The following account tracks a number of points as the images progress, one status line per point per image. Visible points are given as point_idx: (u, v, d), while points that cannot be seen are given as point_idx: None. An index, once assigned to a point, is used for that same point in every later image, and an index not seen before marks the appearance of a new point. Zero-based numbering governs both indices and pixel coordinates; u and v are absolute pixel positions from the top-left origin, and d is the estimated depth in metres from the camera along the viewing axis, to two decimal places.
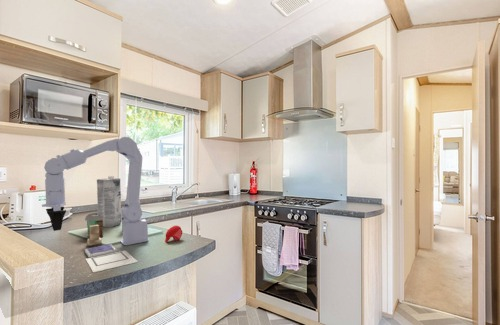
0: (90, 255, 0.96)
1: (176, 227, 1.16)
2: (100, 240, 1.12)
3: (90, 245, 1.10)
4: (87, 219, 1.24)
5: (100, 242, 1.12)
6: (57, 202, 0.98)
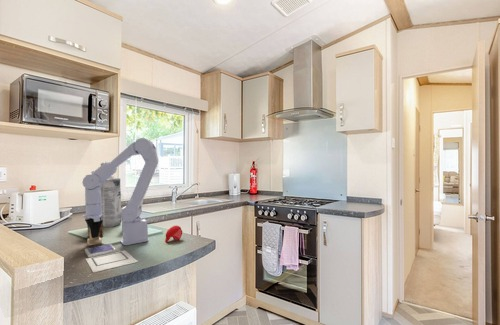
0: (90, 255, 0.96)
1: (176, 227, 1.16)
2: (100, 240, 1.12)
3: (90, 245, 1.10)
4: None
5: (100, 242, 1.12)
6: (96, 213, 1.11)
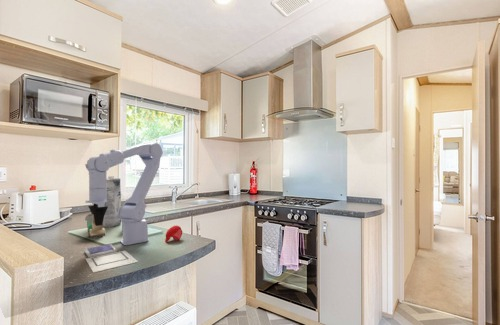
0: (90, 255, 0.96)
1: (176, 227, 1.16)
2: (103, 230, 1.01)
3: (92, 235, 0.99)
4: (87, 219, 1.24)
5: (103, 232, 1.01)
6: (100, 199, 1.01)
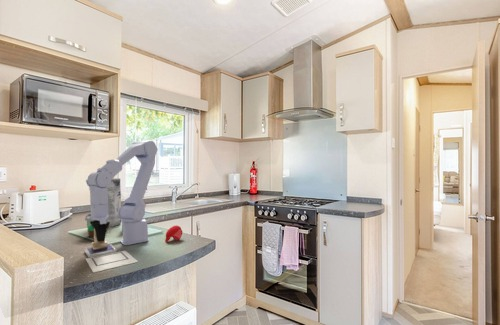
0: (90, 255, 0.96)
1: (176, 227, 1.16)
2: (106, 244, 1.02)
3: (95, 249, 0.99)
4: (87, 219, 1.24)
5: (106, 246, 1.02)
6: (102, 215, 1.01)
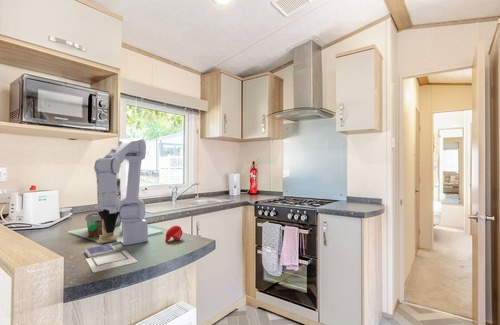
0: (90, 255, 0.96)
1: (176, 227, 1.16)
2: (115, 236, 0.94)
3: (103, 242, 0.91)
4: (87, 219, 1.24)
5: (115, 239, 0.94)
6: (111, 204, 0.93)
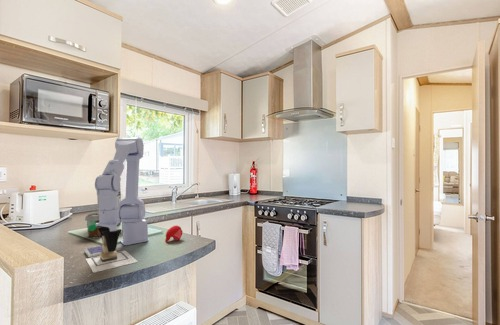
0: (90, 255, 0.96)
1: (176, 227, 1.16)
2: (115, 253, 0.94)
3: (104, 259, 0.91)
4: (87, 219, 1.24)
5: (115, 255, 0.94)
6: (111, 221, 0.93)
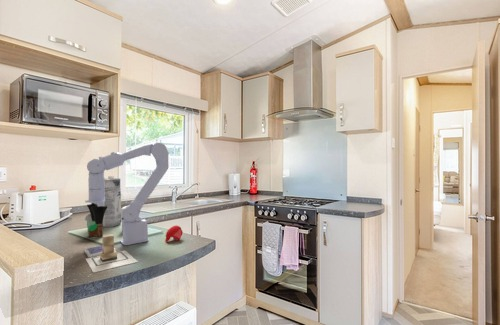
0: (90, 255, 0.96)
1: (176, 227, 1.16)
2: (115, 253, 0.94)
3: (104, 259, 0.91)
4: (87, 219, 1.24)
5: (115, 255, 0.94)
6: (99, 198, 1.09)
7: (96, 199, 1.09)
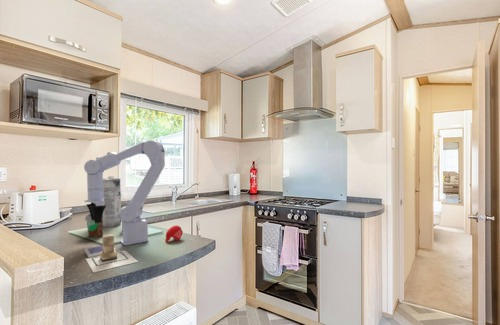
0: (90, 255, 0.96)
1: (176, 227, 1.16)
2: (115, 253, 0.94)
3: (104, 259, 0.91)
4: (87, 219, 1.24)
5: (115, 255, 0.94)
6: (98, 198, 1.12)
7: (95, 199, 1.12)
